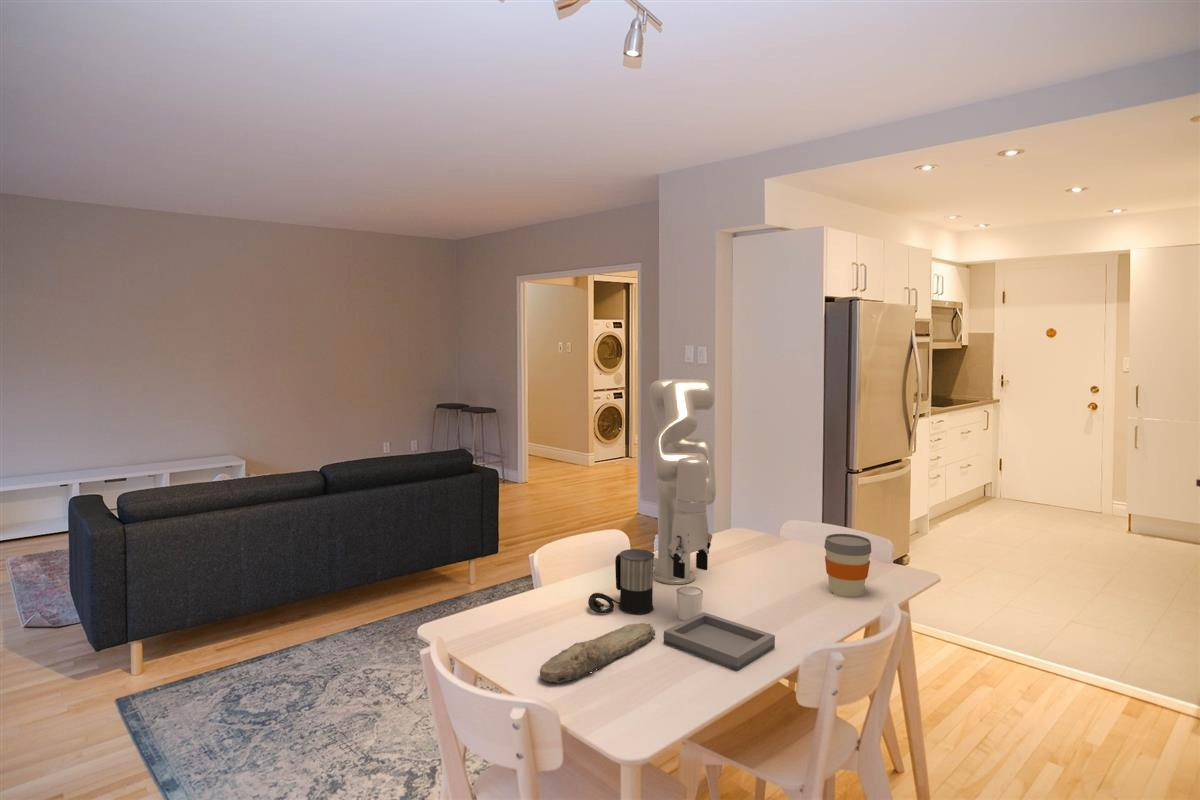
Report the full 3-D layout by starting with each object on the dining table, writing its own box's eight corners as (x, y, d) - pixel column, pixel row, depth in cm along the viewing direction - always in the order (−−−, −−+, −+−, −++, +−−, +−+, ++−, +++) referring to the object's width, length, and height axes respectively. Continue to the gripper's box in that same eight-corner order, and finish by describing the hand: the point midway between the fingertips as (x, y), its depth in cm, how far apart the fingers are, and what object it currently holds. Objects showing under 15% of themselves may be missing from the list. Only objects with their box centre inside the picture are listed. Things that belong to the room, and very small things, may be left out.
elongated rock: (666, 645, 169) (633, 635, 176) (666, 623, 169) (633, 614, 176) (562, 691, 143) (528, 678, 150) (562, 665, 143) (528, 653, 150)
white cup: (702, 623, 178) (702, 596, 177) (674, 621, 179) (675, 594, 179) (703, 613, 185) (704, 587, 184) (677, 611, 186) (677, 585, 186)
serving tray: (663, 643, 166) (663, 631, 166) (703, 623, 178) (703, 612, 178) (736, 671, 153) (737, 657, 152) (774, 647, 164) (775, 635, 164)
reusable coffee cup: (855, 603, 192) (857, 548, 191) (814, 590, 202) (815, 538, 200) (878, 592, 201) (880, 540, 199) (837, 580, 210) (839, 531, 209)
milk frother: (661, 608, 188) (661, 553, 187) (621, 625, 177) (622, 567, 175) (620, 594, 198) (621, 542, 196) (581, 610, 186) (581, 555, 185)
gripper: (699, 499, 188) (698, 563, 189) (658, 509, 176) (657, 577, 177) (723, 503, 183) (722, 569, 184) (682, 514, 170) (682, 584, 172)
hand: (690, 573), depth 180 cm, fingers open, 9 cm apart
